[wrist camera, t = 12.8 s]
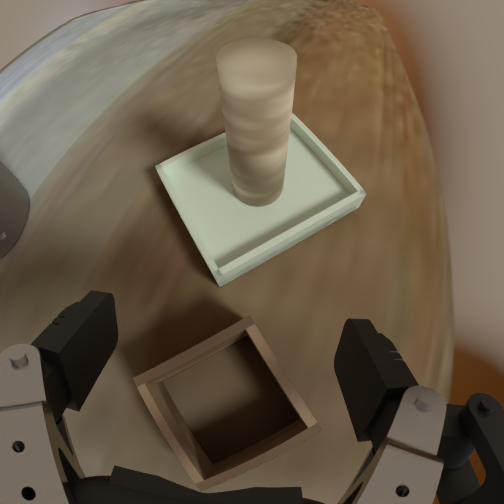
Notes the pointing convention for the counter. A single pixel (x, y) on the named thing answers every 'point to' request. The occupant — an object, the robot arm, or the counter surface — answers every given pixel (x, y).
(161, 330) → the counter surface
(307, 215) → the tray
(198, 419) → the counter surface
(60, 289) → the counter surface
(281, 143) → the dowel
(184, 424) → the box
